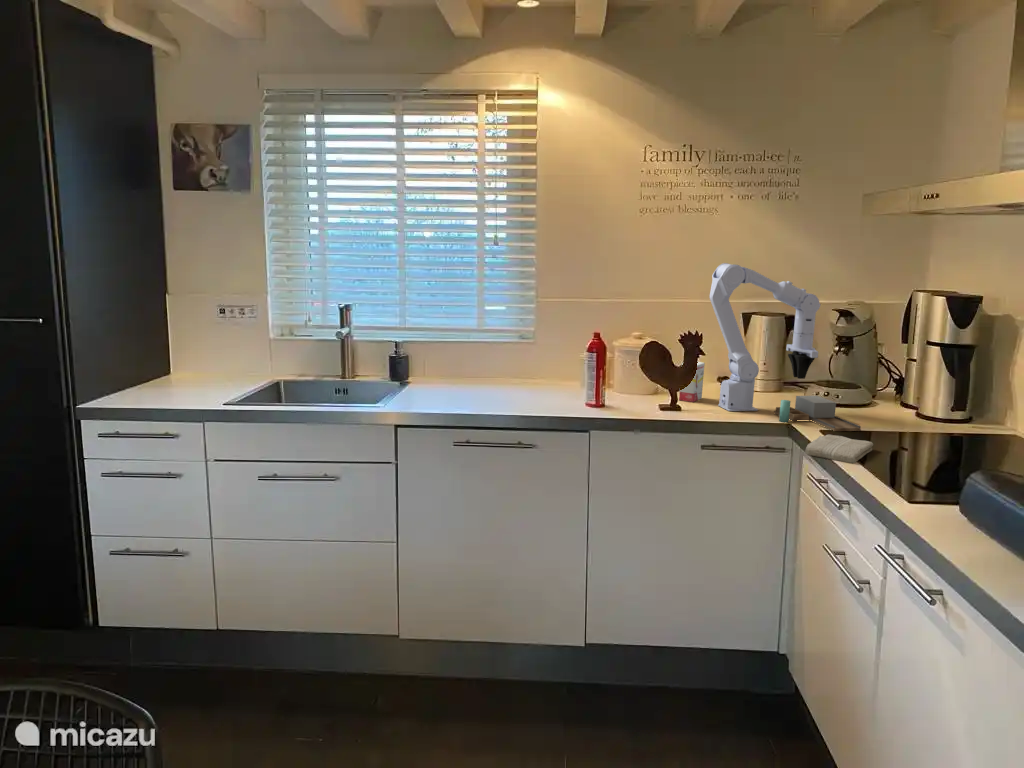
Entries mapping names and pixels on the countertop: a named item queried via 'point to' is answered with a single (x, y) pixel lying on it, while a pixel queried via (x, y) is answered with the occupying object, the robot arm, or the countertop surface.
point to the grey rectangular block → (816, 406)
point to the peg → (784, 411)
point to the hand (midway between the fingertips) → (799, 377)
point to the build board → (794, 414)
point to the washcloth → (838, 448)
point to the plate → (836, 424)
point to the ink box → (694, 386)
